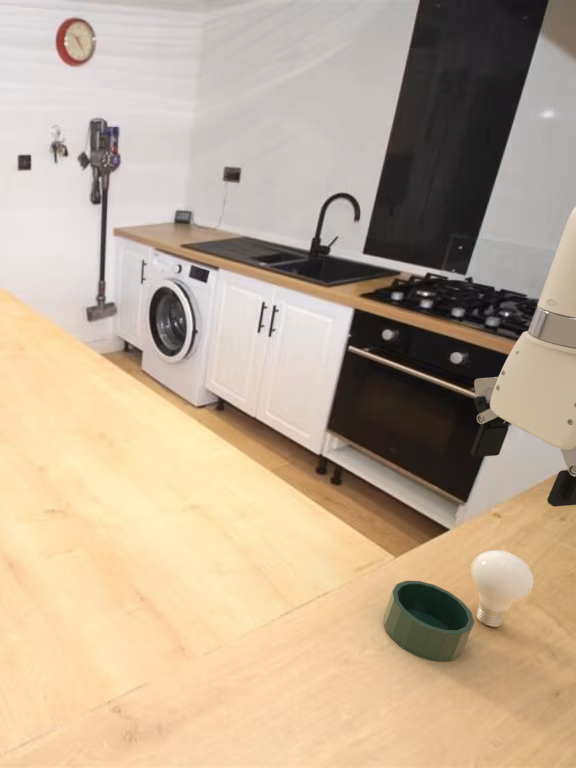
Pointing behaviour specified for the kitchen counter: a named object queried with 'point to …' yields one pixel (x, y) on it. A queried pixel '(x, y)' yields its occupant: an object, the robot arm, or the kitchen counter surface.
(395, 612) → the bowl
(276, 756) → the kitchen counter surface
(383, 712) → the kitchen counter surface
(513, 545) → the kitchen counter surface
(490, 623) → the lightbulb
